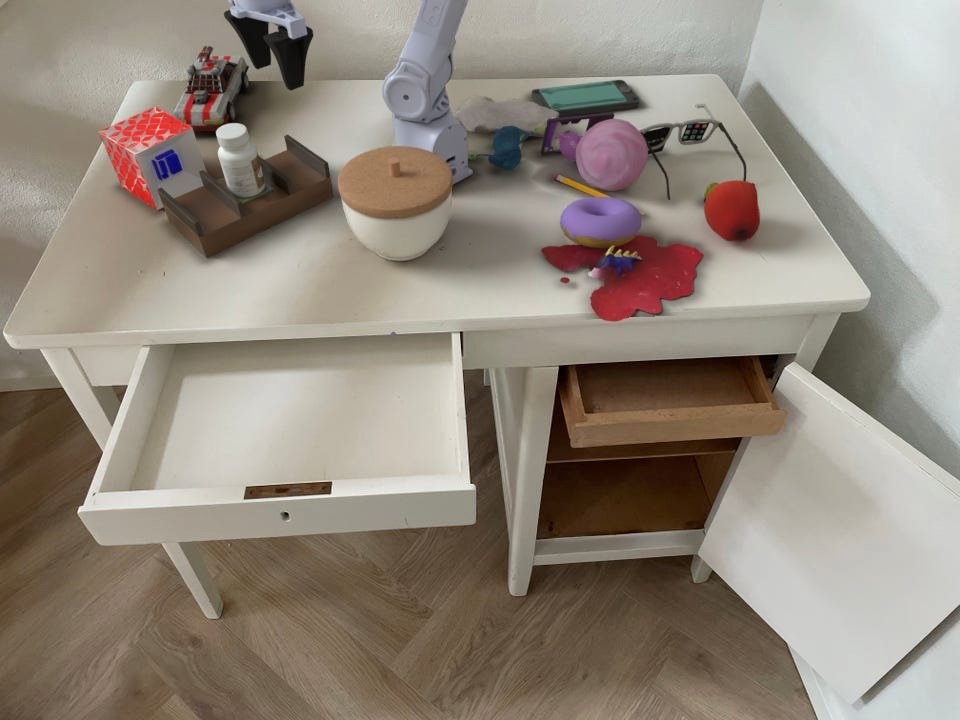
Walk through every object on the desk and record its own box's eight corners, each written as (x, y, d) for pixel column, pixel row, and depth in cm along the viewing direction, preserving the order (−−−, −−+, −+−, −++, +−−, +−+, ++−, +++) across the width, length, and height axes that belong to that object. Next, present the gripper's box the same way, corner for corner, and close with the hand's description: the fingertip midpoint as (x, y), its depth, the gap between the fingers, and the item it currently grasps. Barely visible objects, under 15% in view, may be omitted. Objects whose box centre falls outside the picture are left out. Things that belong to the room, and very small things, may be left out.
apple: (786, 226, 81) (761, 164, 86) (747, 205, 78) (724, 142, 83) (732, 264, 87) (712, 203, 92) (694, 246, 83) (675, 184, 88)
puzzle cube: (174, 161, 96) (155, 106, 91) (210, 182, 93) (192, 127, 87) (121, 187, 92) (97, 131, 86) (156, 210, 89) (134, 154, 83)
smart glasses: (696, 128, 101) (708, 99, 97) (741, 201, 94) (756, 173, 90) (618, 138, 99) (627, 108, 95) (659, 214, 92) (671, 185, 88)
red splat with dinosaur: (655, 236, 91) (665, 203, 88) (729, 302, 81) (744, 268, 78) (532, 255, 84) (539, 220, 81) (598, 329, 74) (609, 293, 71)
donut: (632, 255, 78) (627, 213, 76) (553, 259, 83) (546, 219, 80) (651, 223, 86) (647, 184, 84) (578, 228, 90) (572, 191, 88)
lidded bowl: (456, 274, 81) (454, 192, 73) (345, 279, 80) (330, 196, 72) (452, 208, 89) (449, 128, 81) (351, 212, 89) (338, 131, 81)
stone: (472, 91, 107) (569, 100, 102) (472, 113, 109) (567, 123, 104) (443, 109, 99) (547, 120, 94) (444, 133, 101) (546, 145, 96)
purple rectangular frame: (612, 107, 93) (546, 114, 92) (623, 139, 91) (555, 146, 90) (601, 142, 99) (538, 148, 98) (610, 172, 98) (547, 179, 96)
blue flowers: (477, 161, 101) (472, 193, 96) (463, 137, 98) (458, 169, 93) (555, 130, 96) (555, 161, 92) (543, 104, 94) (543, 135, 89)
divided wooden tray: (334, 196, 91) (328, 162, 87) (206, 258, 83) (194, 223, 79) (295, 168, 95) (287, 134, 92) (170, 223, 87) (156, 189, 83)
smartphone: (641, 100, 106) (545, 111, 103) (639, 107, 107) (544, 119, 104) (622, 77, 111) (530, 87, 108) (621, 85, 112) (529, 95, 109)
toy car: (172, 139, 100) (154, 87, 95) (205, 78, 112) (191, 29, 107) (227, 139, 100) (212, 87, 95) (254, 78, 112) (242, 29, 107)
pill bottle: (270, 192, 86) (256, 134, 80) (234, 202, 85) (217, 144, 79) (259, 174, 89) (244, 117, 83) (224, 184, 87) (206, 126, 82)
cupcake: (630, 94, 91) (616, 112, 83) (667, 151, 93) (656, 173, 85) (574, 135, 96) (556, 155, 88) (610, 188, 98) (596, 212, 90)
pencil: (557, 175, 94) (556, 172, 93) (646, 213, 88) (646, 210, 88) (554, 180, 94) (553, 177, 93) (643, 218, 88) (643, 215, 88)
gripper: (191, -48, 82) (221, 67, 93) (257, -12, 75) (283, 108, 85) (244, -62, 86) (268, 50, 96) (313, -29, 79) (331, 88, 89)
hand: (278, 76), depth 91 cm, fingers open, 7 cm apart
